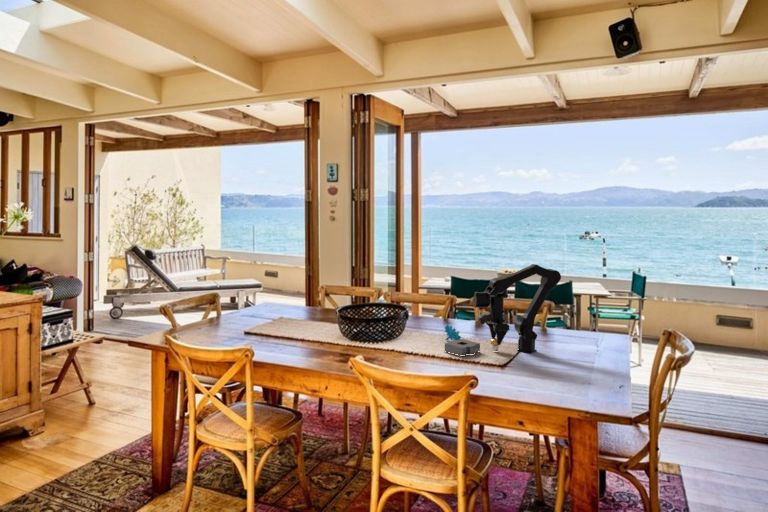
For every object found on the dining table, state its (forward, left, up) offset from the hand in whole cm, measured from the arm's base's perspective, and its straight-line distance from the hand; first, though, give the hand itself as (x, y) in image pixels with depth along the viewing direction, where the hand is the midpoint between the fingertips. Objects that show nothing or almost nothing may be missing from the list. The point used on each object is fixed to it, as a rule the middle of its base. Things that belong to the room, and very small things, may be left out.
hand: (496, 341), depth 218 cm
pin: (0, 0, -5) cm, 5 cm away
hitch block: (+9, +12, -5) cm, 16 cm away
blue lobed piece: (+24, +1, -5) cm, 25 cm away
